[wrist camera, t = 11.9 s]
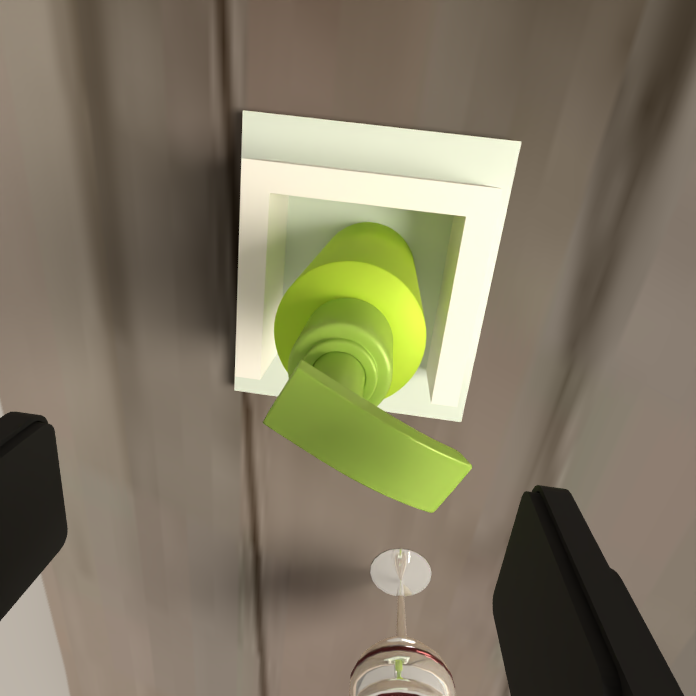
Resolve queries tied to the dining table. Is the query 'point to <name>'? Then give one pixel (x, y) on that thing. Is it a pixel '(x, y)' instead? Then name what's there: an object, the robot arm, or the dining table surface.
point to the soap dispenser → (360, 367)
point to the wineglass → (401, 639)
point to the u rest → (378, 207)
